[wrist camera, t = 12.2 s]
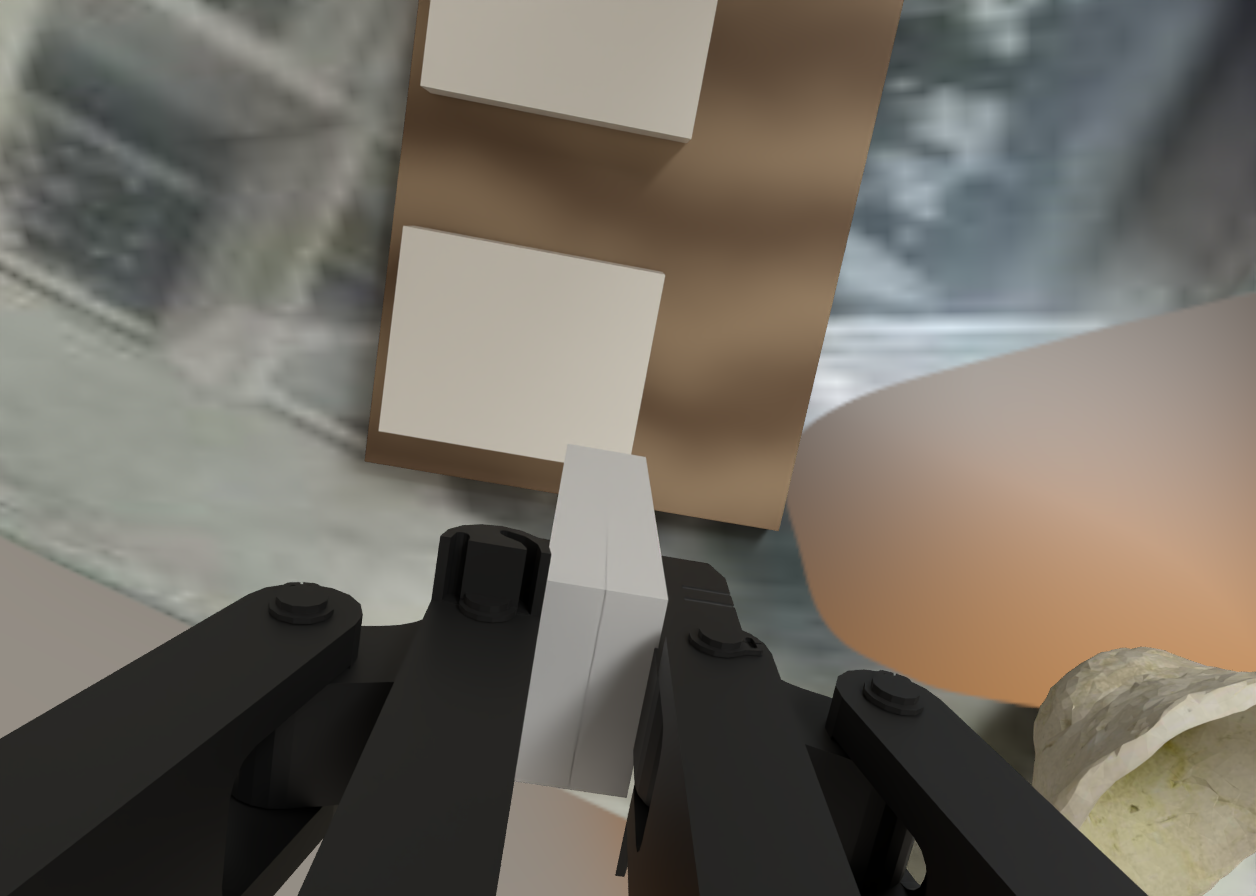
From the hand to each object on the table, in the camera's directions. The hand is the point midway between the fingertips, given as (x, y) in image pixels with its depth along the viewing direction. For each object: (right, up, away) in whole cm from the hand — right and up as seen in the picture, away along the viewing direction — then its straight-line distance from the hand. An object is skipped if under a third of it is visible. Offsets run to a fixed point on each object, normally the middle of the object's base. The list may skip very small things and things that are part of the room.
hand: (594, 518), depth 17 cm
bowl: (+24, -12, +26) cm, 37 cm away
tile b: (+1, +4, +19) cm, 20 cm away
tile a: (+4, +17, +16) cm, 24 cm away
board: (+1, +12, +20) cm, 23 cm away
